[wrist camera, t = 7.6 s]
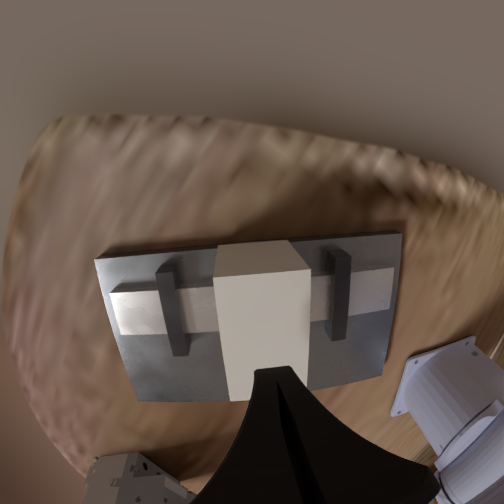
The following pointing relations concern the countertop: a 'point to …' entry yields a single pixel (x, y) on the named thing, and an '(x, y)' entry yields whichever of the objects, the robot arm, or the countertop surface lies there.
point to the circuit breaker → (132, 482)
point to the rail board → (206, 319)
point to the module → (261, 311)
